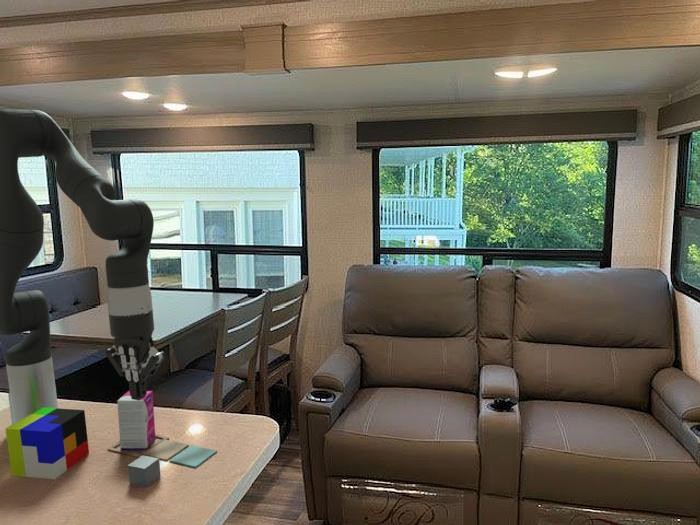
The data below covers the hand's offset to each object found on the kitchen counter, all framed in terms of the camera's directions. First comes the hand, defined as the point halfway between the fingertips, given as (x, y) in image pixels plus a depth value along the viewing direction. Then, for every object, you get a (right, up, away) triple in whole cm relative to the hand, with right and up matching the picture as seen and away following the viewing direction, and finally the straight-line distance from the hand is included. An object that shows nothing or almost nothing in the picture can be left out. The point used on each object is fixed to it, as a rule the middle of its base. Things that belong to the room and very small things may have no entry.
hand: (138, 398), depth 100 cm
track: (0, -15, +14) cm, 21 cm away
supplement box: (-7, -15, +18) cm, 24 cm away
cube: (0, -17, +3) cm, 17 cm away
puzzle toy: (-22, -17, +10) cm, 29 cm away
